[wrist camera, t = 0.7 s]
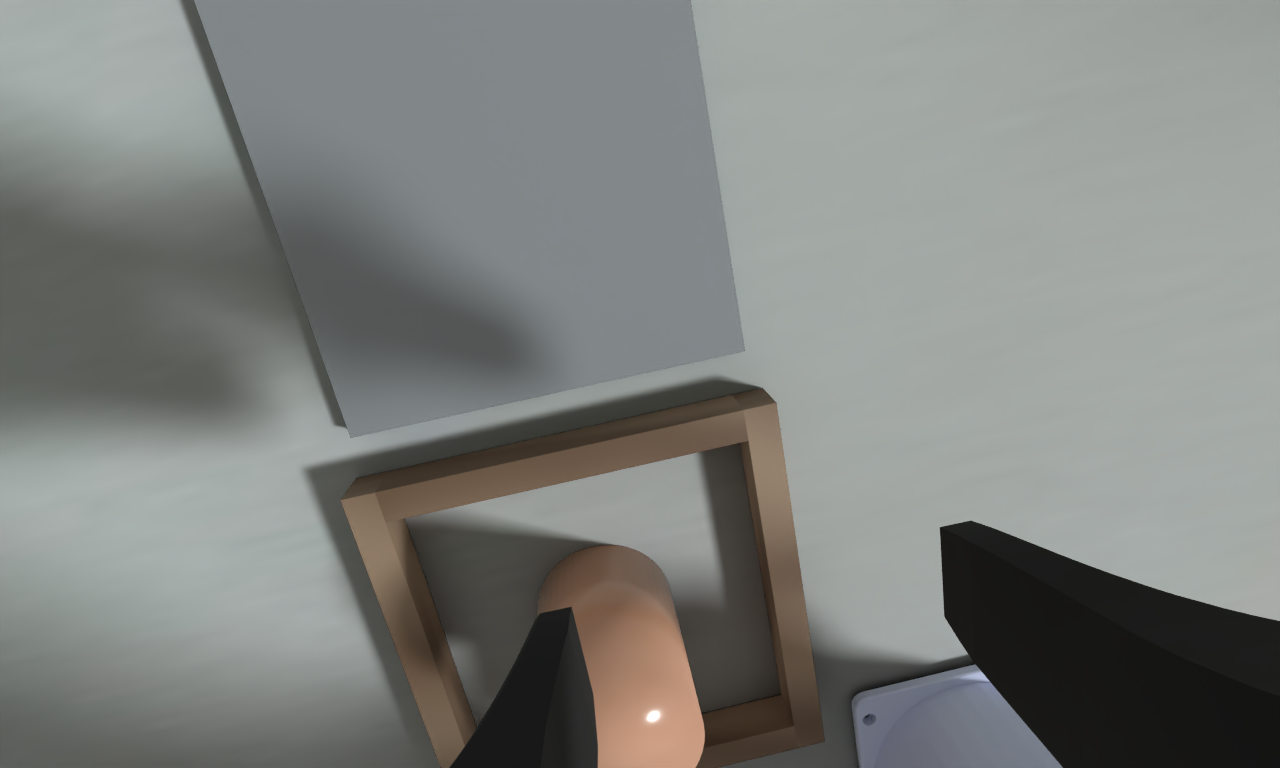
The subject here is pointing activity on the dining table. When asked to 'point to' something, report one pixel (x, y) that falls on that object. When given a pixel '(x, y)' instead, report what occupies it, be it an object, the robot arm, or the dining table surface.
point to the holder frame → (571, 456)
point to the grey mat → (484, 192)
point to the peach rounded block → (630, 657)
